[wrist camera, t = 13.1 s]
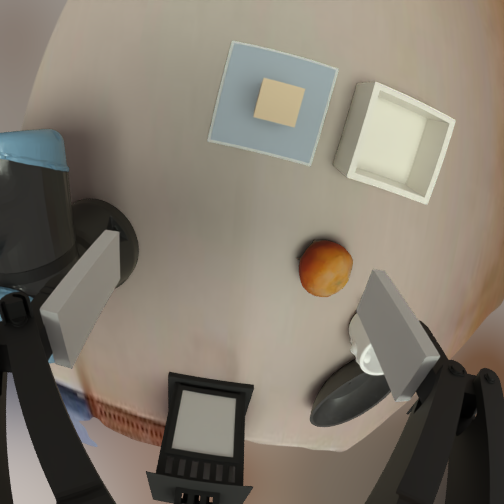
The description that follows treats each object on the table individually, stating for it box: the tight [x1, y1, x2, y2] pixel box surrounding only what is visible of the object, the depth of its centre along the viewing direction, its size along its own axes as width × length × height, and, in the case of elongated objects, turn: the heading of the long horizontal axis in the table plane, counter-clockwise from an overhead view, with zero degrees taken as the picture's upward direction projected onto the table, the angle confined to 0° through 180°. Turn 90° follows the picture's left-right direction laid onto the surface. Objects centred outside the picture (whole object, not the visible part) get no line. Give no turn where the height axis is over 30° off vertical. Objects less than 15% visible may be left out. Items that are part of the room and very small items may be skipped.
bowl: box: [310, 360, 391, 427], centre depth 58 cm, size 12×22×6 cm, turn 144°
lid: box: [211, 43, 336, 163], centre depth 32 cm, size 13×13×11 cm
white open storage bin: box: [333, 81, 456, 205], centre depth 36 cm, size 12×12×7 cm
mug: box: [349, 313, 384, 375], centre depth 49 cm, size 12×10×9 cm
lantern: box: [146, 372, 254, 504], centre depth 49 cm, size 17×17×35 cm
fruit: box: [297, 240, 353, 297], centre depth 45 cm, size 8×8×8 cm
